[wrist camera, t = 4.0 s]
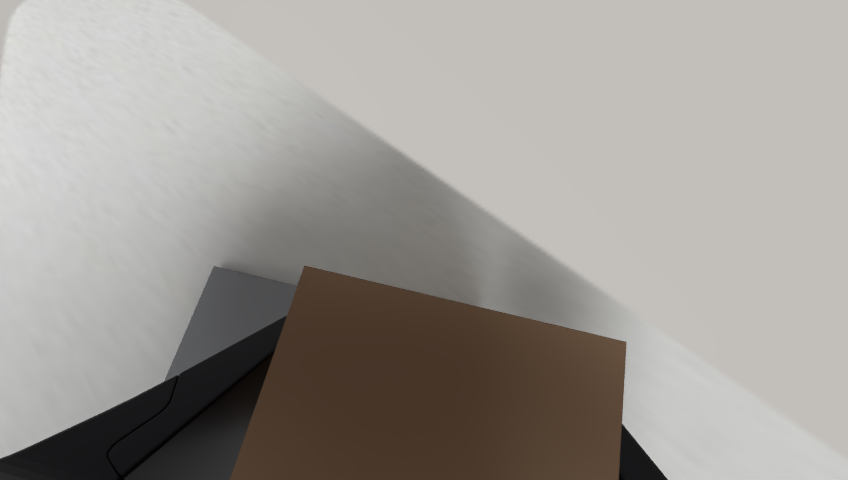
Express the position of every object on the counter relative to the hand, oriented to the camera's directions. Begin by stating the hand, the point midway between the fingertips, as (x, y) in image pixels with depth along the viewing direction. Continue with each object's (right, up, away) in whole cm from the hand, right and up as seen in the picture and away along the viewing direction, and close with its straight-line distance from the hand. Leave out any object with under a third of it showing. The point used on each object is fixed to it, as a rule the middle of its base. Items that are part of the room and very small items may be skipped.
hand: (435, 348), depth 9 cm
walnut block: (0, -3, +6) cm, 7 cm away
